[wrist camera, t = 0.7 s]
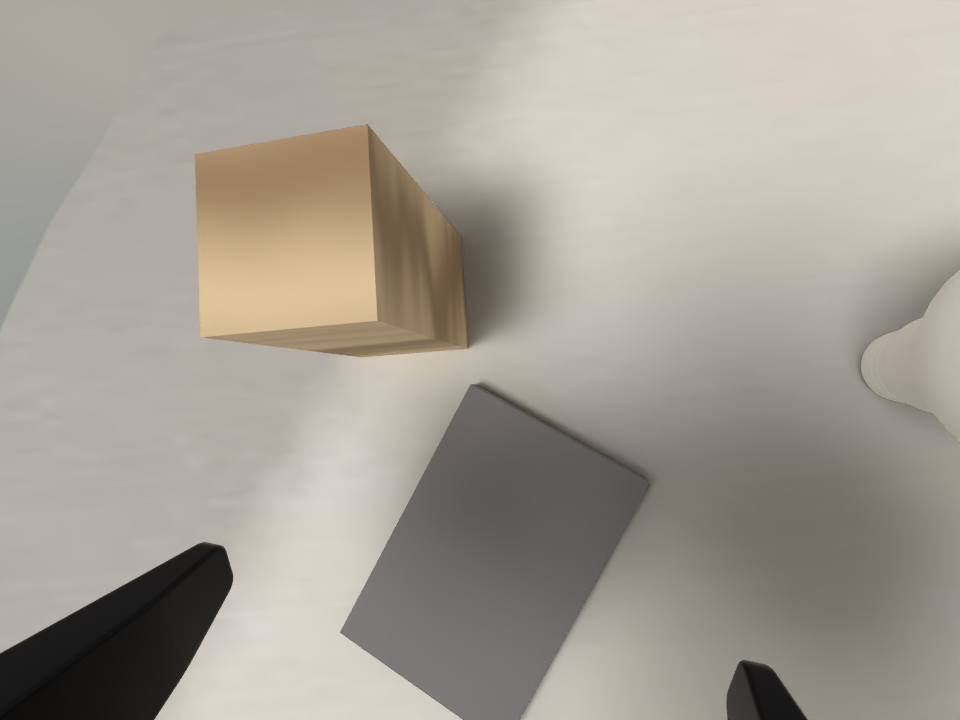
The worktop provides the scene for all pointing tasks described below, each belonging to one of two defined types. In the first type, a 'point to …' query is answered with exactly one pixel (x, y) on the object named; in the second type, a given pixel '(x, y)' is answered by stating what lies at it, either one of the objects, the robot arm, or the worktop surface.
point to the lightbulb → (922, 360)
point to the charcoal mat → (493, 558)
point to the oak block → (325, 249)
